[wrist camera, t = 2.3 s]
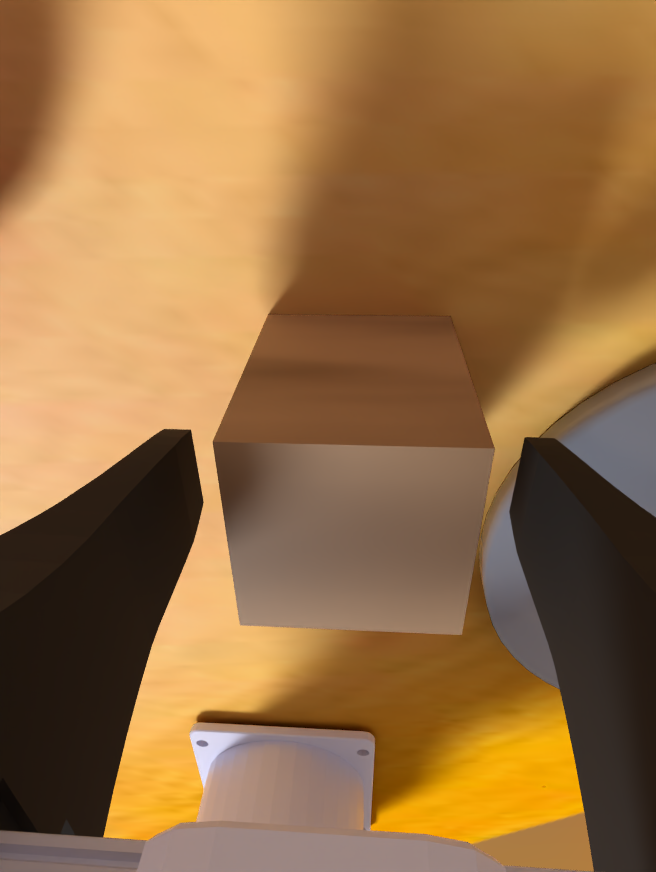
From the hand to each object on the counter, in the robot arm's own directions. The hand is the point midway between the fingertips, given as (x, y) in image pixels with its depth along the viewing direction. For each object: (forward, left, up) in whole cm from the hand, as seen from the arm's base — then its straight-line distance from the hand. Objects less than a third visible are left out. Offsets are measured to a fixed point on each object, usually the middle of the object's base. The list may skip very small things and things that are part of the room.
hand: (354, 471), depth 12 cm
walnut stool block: (0, 0, -4) cm, 4 cm away
